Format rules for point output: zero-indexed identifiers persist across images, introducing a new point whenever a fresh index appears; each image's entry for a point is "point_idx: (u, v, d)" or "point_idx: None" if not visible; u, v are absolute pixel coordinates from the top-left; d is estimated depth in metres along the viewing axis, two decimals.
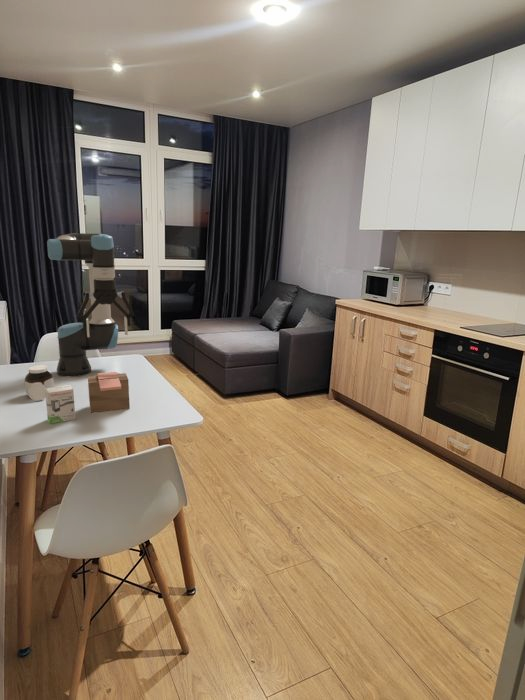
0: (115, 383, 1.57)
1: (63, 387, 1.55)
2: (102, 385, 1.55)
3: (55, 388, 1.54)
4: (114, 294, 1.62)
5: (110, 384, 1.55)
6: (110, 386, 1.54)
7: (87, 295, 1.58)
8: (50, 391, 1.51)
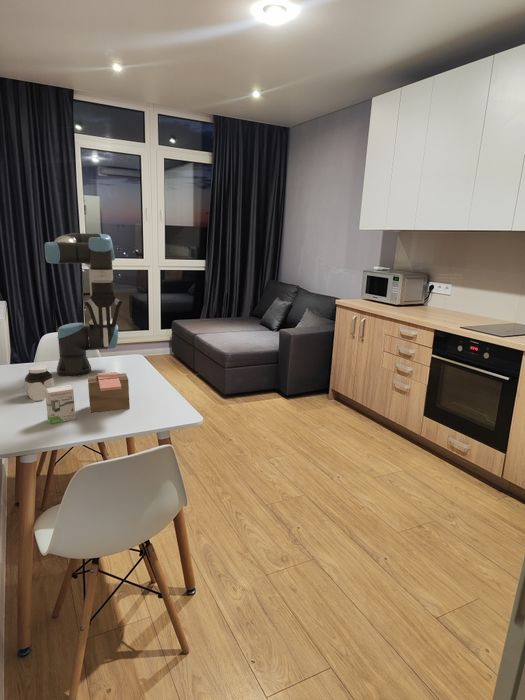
0: (115, 383, 1.57)
1: (63, 387, 1.55)
2: (102, 385, 1.55)
3: (55, 388, 1.54)
4: (112, 297, 1.58)
5: (110, 384, 1.55)
6: (110, 386, 1.54)
7: (87, 304, 1.55)
8: (50, 391, 1.51)
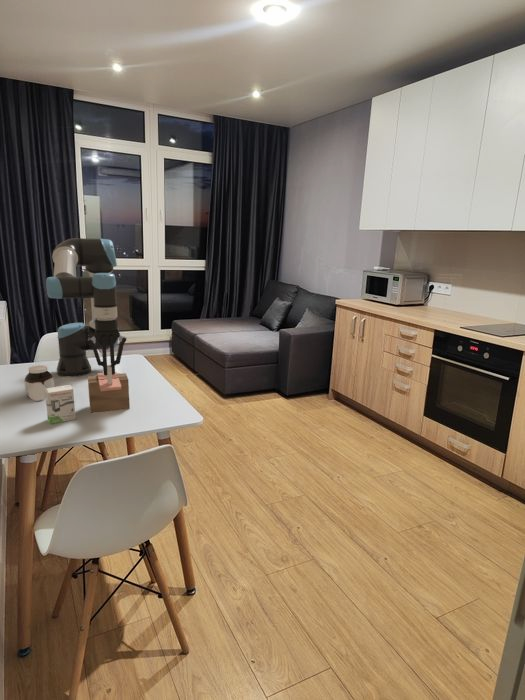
0: (115, 384, 1.57)
1: (63, 387, 1.55)
2: (102, 385, 1.55)
3: (55, 388, 1.54)
4: (117, 334, 1.53)
5: (110, 385, 1.55)
6: (110, 386, 1.54)
7: (91, 342, 1.50)
8: (50, 391, 1.51)
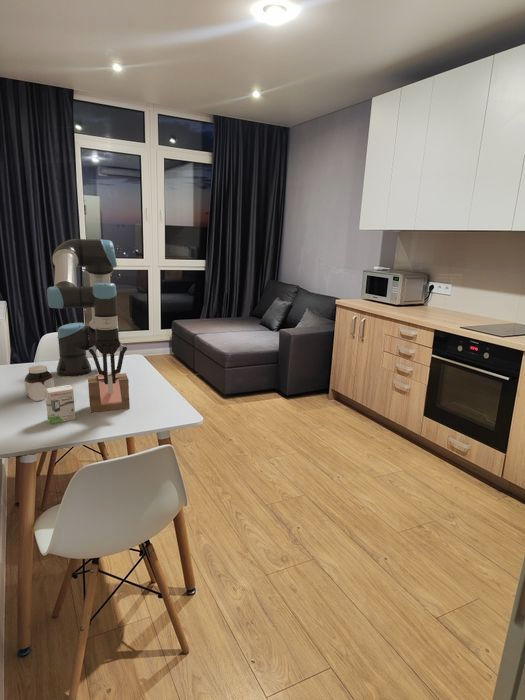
0: (116, 394, 1.58)
1: (63, 387, 1.55)
2: (103, 396, 1.56)
3: (55, 388, 1.54)
4: (117, 343, 1.53)
5: (110, 396, 1.57)
6: (111, 400, 1.56)
7: (91, 351, 1.50)
8: (50, 391, 1.51)
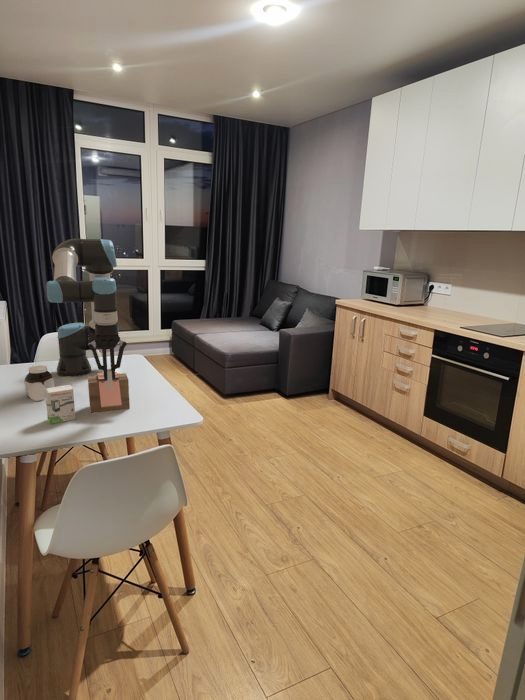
0: (116, 396, 1.59)
1: (63, 387, 1.55)
2: (103, 398, 1.57)
3: (55, 388, 1.54)
4: (117, 339, 1.53)
5: (110, 398, 1.58)
6: (111, 403, 1.58)
7: (91, 346, 1.50)
8: (50, 391, 1.51)
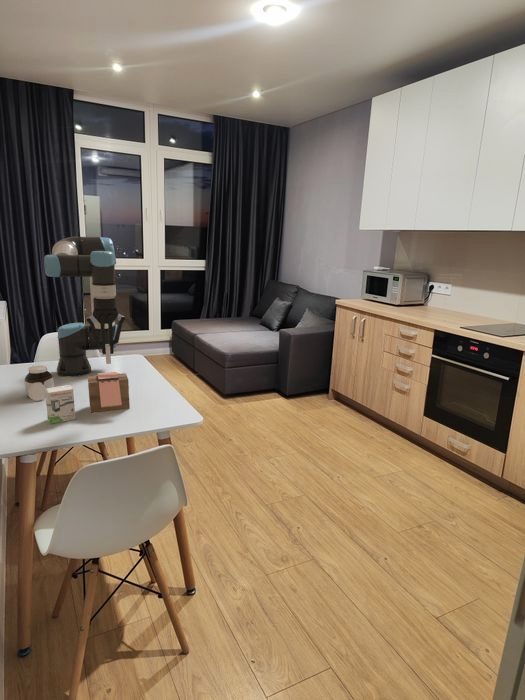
0: (116, 396, 1.59)
1: (63, 387, 1.55)
2: (103, 398, 1.57)
3: (55, 388, 1.54)
4: (115, 313, 1.52)
5: (110, 398, 1.58)
6: (111, 403, 1.58)
7: (89, 320, 1.49)
8: (50, 391, 1.51)
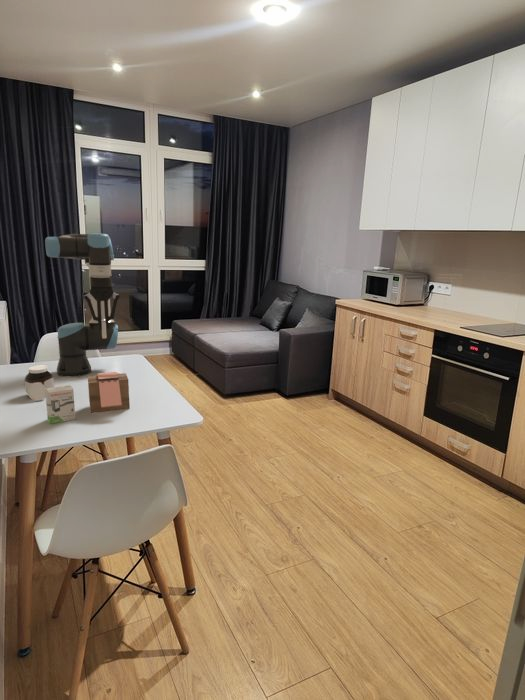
0: (116, 396, 1.59)
1: (63, 387, 1.55)
2: (103, 398, 1.57)
3: (55, 388, 1.54)
4: (110, 291, 1.65)
5: (110, 398, 1.58)
6: (111, 403, 1.58)
7: (86, 297, 1.62)
8: (50, 391, 1.51)
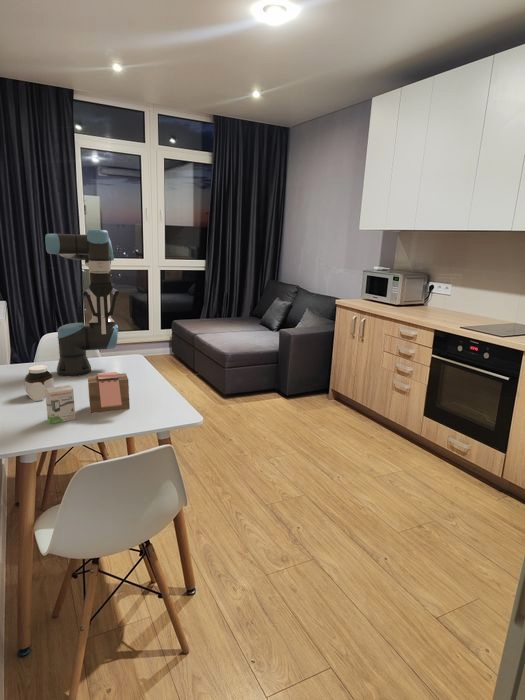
0: (116, 396, 1.59)
1: (63, 387, 1.55)
2: (103, 398, 1.57)
3: (55, 388, 1.54)
4: (110, 287, 1.66)
5: (110, 398, 1.58)
6: (111, 403, 1.58)
7: (86, 293, 1.63)
8: (50, 391, 1.51)
